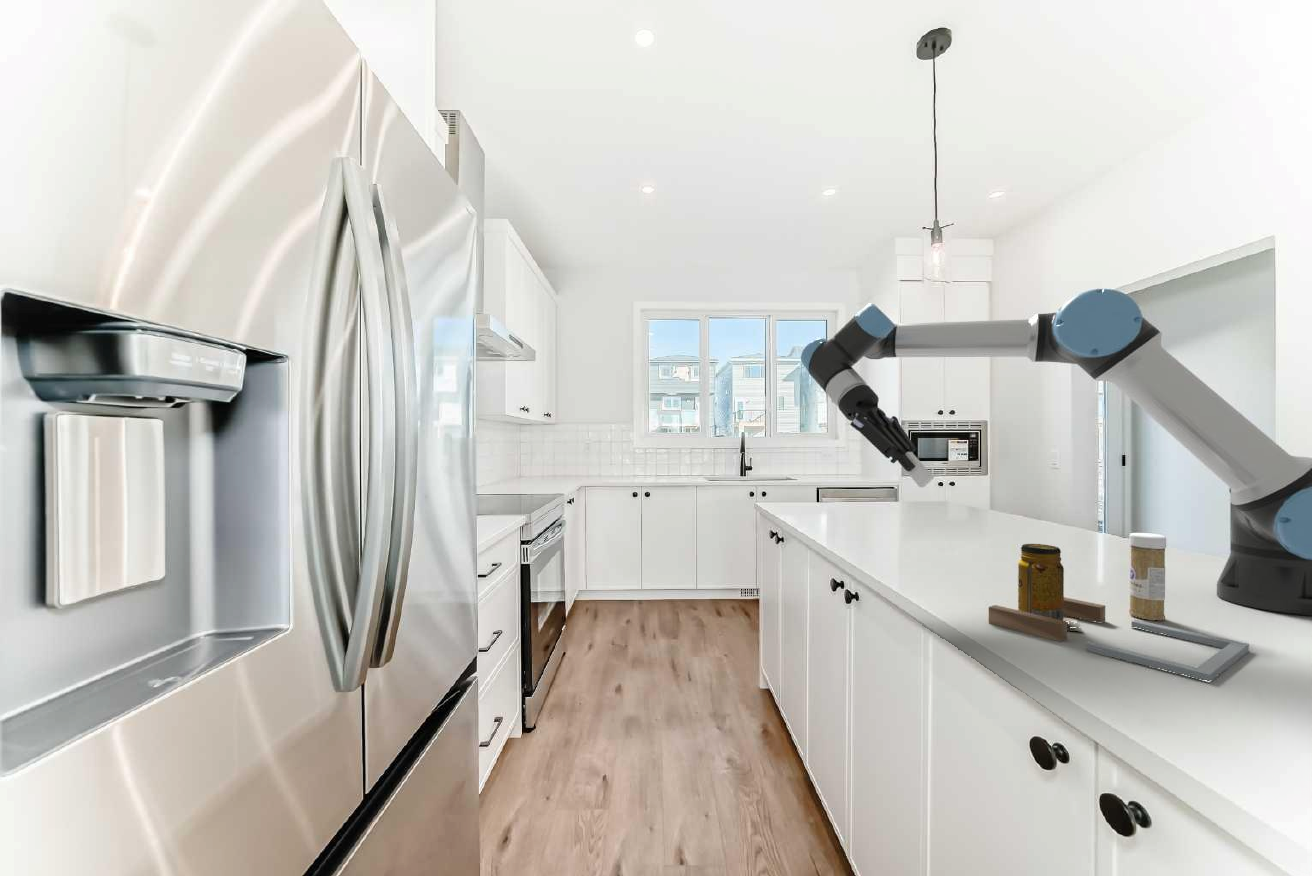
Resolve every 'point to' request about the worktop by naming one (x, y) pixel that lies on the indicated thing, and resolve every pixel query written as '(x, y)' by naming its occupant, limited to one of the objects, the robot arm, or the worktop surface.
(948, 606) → the worktop surface
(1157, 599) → the toothpick container
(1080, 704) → the worktop surface
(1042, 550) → the condiment
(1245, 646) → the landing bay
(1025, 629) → the wooden blocks
